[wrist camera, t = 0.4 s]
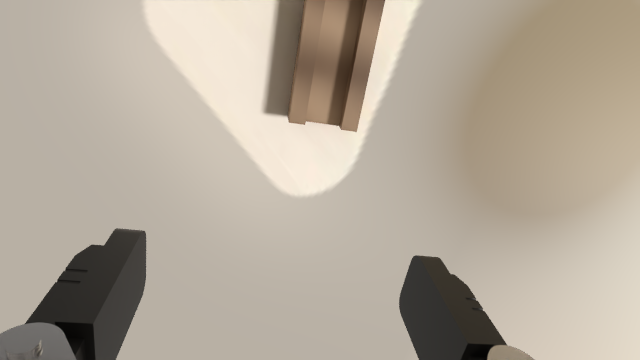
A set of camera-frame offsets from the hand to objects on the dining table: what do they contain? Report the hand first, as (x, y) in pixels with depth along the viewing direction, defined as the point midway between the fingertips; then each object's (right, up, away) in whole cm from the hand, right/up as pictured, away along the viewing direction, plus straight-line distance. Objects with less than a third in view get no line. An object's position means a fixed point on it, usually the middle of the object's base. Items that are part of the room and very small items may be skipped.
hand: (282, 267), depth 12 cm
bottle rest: (+2, +13, +23) cm, 26 cm away
